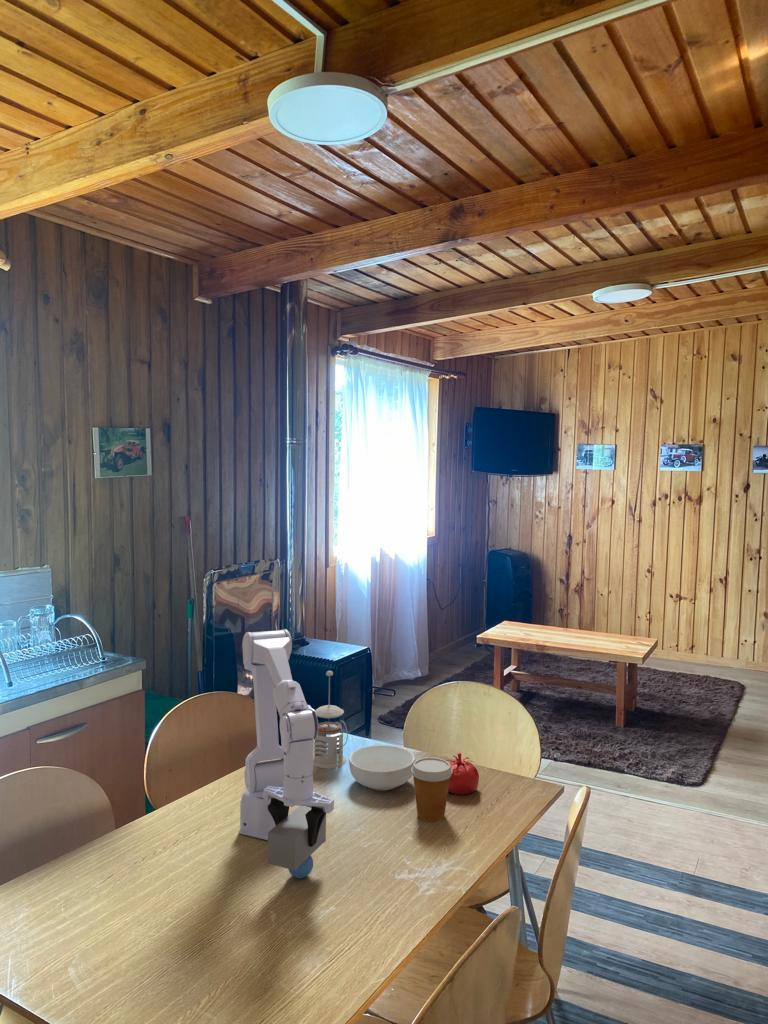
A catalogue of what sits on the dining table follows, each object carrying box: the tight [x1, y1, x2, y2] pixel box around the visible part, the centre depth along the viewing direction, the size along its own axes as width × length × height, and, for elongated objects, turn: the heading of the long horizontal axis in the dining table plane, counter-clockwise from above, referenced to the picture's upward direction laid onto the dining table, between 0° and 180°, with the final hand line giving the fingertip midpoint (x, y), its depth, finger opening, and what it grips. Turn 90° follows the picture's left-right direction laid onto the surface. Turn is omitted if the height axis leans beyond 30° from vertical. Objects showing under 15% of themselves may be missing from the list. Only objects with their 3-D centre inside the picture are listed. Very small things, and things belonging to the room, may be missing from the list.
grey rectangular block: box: [267, 806, 327, 870], centre depth 146 cm, size 6×12×6 cm, turn 157°
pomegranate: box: [445, 752, 480, 796], centre depth 187 cm, size 10×10×9 cm
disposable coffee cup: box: [411, 756, 452, 822], centre depth 173 cm, size 10×10×12 cm
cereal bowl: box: [348, 744, 416, 791], centre depth 190 cm, size 17×17×7 cm
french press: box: [313, 670, 349, 769], centre depth 203 cm, size 10×12×25 cm
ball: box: [287, 854, 314, 879], centre depth 147 cm, size 5×5×5 cm
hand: (297, 840), depth 146 cm, fingers closed on grey rectangular block, 6 cm apart
